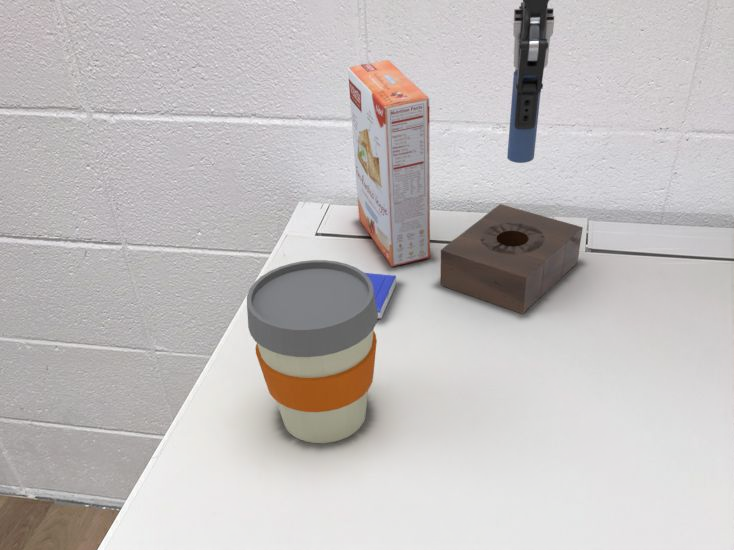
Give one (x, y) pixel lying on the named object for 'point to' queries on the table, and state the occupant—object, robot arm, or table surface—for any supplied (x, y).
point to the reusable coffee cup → (316, 345)
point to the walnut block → (510, 257)
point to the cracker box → (391, 160)
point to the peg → (521, 131)
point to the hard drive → (382, 290)
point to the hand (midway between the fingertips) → (524, 120)
